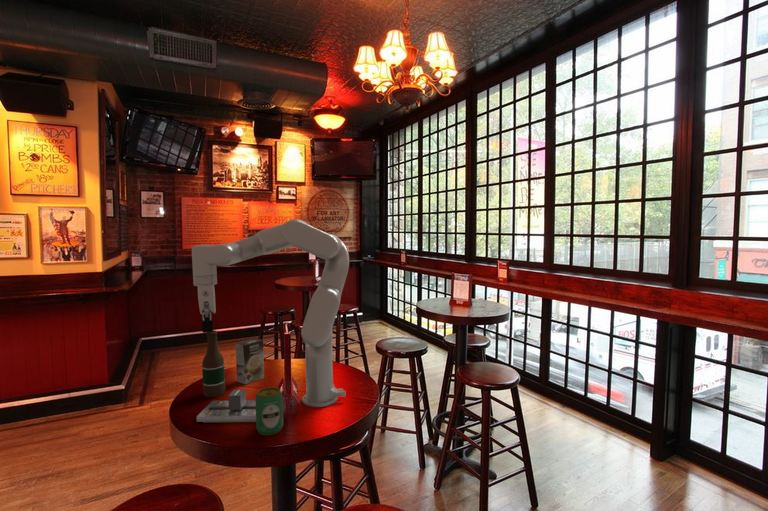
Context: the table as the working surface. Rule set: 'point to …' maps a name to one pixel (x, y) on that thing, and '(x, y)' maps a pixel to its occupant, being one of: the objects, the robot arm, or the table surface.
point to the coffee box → (249, 361)
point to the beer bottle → (213, 368)
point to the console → (228, 412)
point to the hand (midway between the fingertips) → (207, 329)
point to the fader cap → (237, 399)
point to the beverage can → (269, 411)
